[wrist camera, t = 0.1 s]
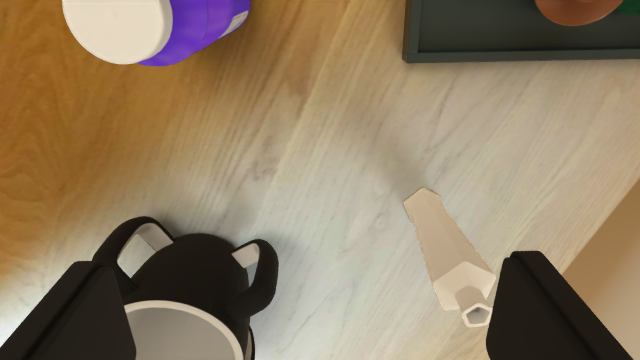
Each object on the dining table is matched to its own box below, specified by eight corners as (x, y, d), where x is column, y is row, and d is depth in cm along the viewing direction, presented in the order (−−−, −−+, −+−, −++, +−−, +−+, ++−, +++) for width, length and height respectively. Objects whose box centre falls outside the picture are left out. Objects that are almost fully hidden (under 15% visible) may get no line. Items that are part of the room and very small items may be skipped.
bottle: (231, -59, 31) (145, -105, 15) (265, 16, 33) (222, 44, 17) (149, -16, 32) (-13, -17, 16) (187, 53, 34) (79, 112, 18)
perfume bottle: (452, 214, 41) (521, 327, 28) (411, 230, 42) (459, 347, 28) (438, 177, 39) (504, 278, 26) (396, 195, 40) (438, 302, 27)
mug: (141, 178, 39) (75, 253, 28) (300, 228, 42) (295, 313, 31) (115, 302, 45) (53, 401, 35) (253, 338, 48) (236, 440, 37)
